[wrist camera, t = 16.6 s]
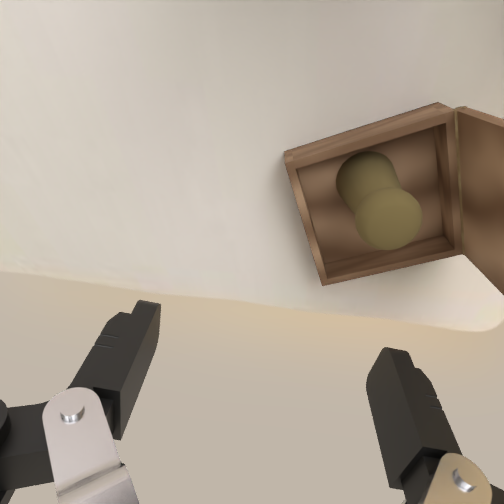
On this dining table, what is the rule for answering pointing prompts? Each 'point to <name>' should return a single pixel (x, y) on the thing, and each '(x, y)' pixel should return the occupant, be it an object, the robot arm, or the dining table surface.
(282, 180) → the dining table surface
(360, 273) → the walnut box
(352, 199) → the olive tapered rounded piece
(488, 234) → the box lid
